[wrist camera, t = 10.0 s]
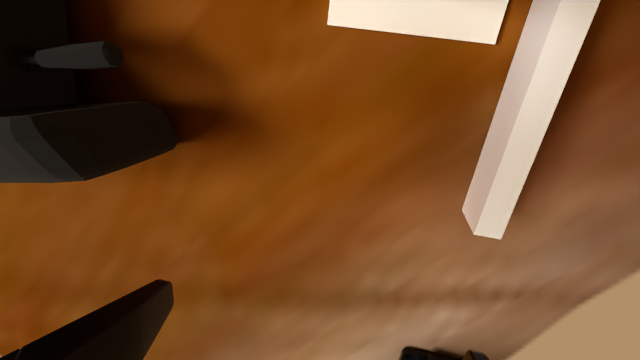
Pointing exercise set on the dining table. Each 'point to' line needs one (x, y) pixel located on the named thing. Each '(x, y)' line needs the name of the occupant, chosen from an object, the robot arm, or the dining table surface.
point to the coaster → (423, 17)
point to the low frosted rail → (525, 109)
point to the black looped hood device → (64, 104)
